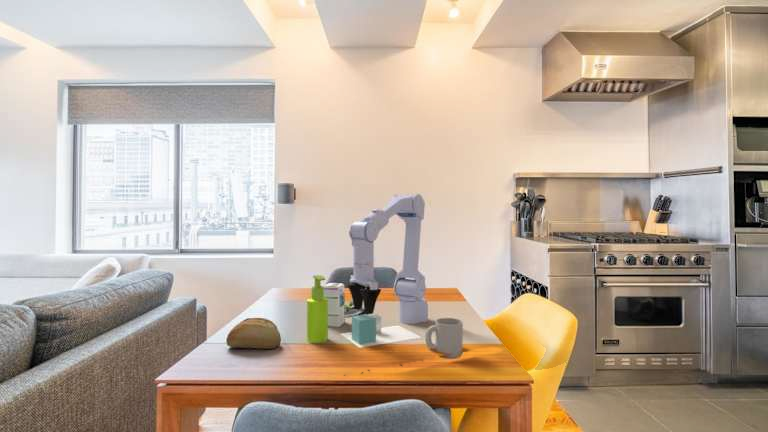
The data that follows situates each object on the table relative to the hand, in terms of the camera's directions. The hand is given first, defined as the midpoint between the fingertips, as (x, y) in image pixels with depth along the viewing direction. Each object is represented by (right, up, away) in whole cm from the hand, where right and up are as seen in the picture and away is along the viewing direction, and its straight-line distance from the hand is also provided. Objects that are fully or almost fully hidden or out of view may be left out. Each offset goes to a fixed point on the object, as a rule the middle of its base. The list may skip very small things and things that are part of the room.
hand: (363, 310), depth 116 cm
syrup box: (-10, -10, +17) cm, 23 cm away
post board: (+5, -10, +5) cm, 12 cm away
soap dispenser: (-13, -10, 0) cm, 17 cm away
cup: (+22, -10, -7) cm, 25 cm away
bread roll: (-31, -10, -1) cm, 33 cm away
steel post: (+3, -8, +8) cm, 12 cm away
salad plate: (-10, -10, +38) cm, 40 cm away
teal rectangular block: (0, -9, 0) cm, 9 cm away
